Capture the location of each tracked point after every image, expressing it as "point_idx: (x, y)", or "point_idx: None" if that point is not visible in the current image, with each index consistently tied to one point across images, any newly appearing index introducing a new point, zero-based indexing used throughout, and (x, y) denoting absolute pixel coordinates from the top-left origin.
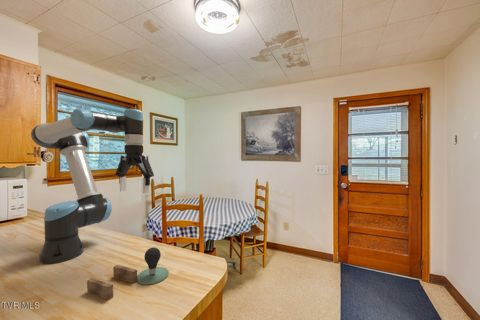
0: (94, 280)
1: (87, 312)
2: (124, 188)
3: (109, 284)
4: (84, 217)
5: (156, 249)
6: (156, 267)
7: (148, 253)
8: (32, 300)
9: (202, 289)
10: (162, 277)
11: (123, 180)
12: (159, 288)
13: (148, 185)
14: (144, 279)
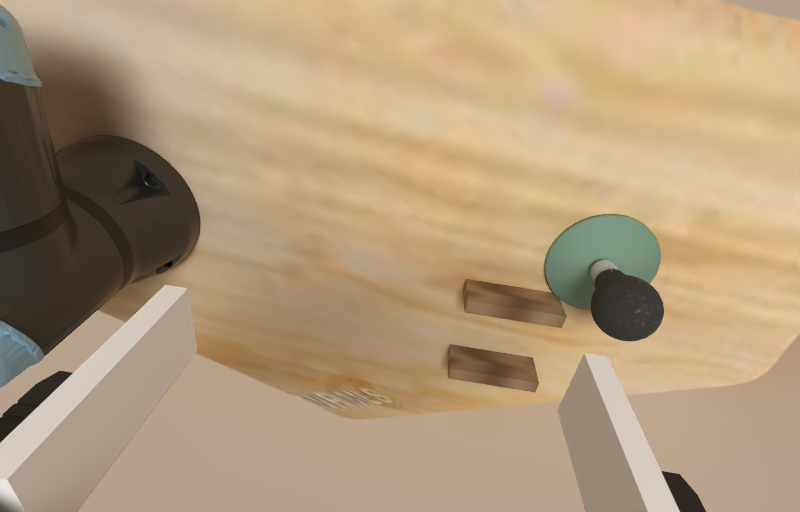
0: (469, 376)
1: (510, 399)
2: (171, 333)
3: (528, 384)
4: (46, 235)
5: (656, 324)
6: (593, 223)
7: (625, 340)
8: (348, 387)
9: None
10: (646, 275)
11: (89, 452)
12: None
13: (644, 452)
14: (584, 294)
